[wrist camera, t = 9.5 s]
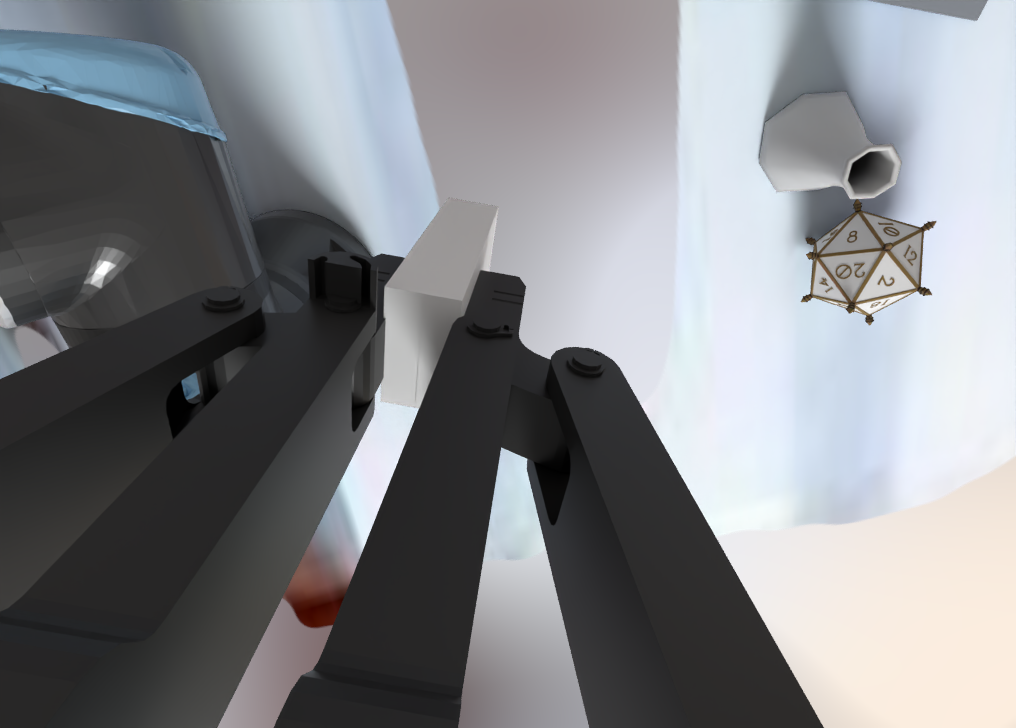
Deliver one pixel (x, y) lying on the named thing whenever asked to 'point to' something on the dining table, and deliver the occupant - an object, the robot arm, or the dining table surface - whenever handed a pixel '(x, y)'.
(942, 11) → the mat
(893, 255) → the game die
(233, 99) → the dining table surface
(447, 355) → the robot arm
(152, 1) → the dining table surface
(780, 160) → the flask
